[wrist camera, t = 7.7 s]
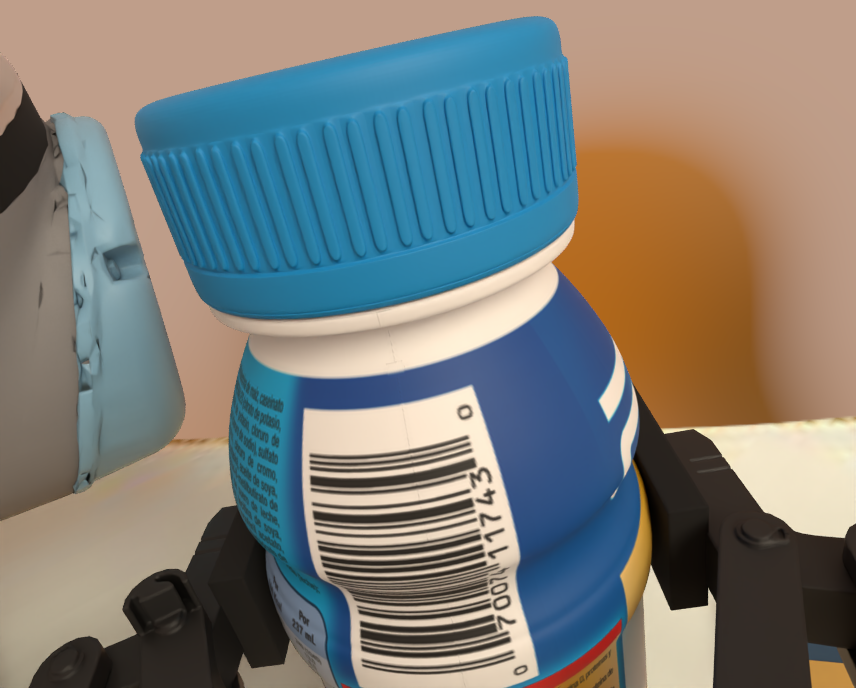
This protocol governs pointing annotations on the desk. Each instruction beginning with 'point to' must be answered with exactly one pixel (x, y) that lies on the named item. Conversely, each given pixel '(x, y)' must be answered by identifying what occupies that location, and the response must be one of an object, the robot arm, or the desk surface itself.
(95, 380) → the robot arm
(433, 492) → the beverage bottle
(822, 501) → the desk surface
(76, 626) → the desk surface
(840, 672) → the tea towel
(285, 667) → the desk surface
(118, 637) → the desk surface
